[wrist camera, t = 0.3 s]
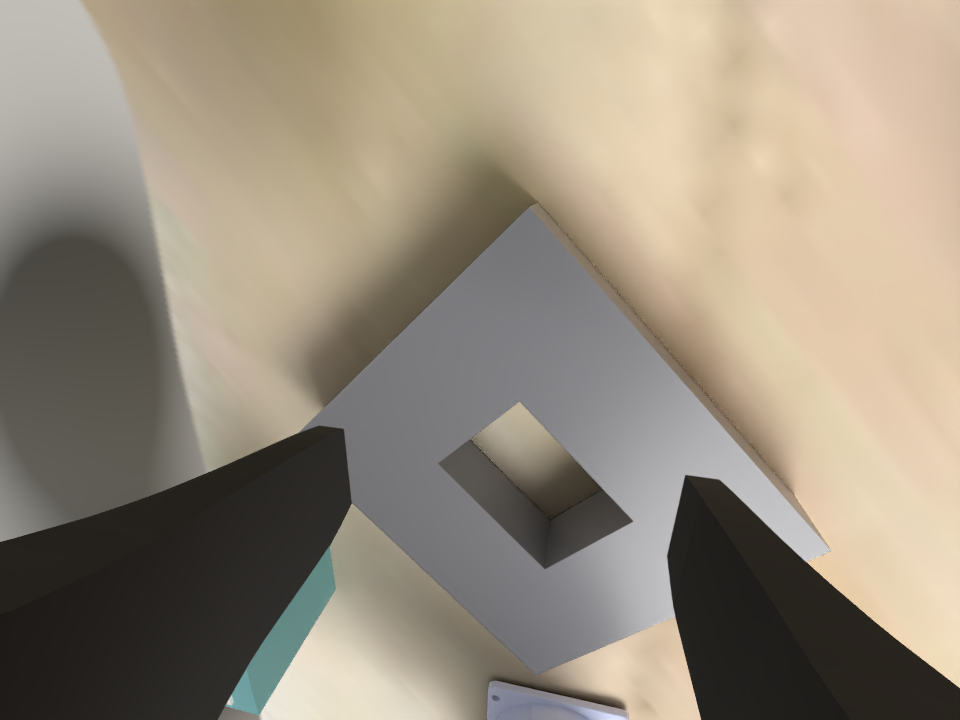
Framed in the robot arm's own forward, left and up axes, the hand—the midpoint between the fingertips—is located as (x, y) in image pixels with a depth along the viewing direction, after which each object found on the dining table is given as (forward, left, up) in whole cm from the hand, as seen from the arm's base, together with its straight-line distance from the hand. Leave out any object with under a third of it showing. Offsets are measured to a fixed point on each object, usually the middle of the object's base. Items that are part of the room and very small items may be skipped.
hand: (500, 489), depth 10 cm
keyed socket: (-5, 0, -10) cm, 11 cm away
